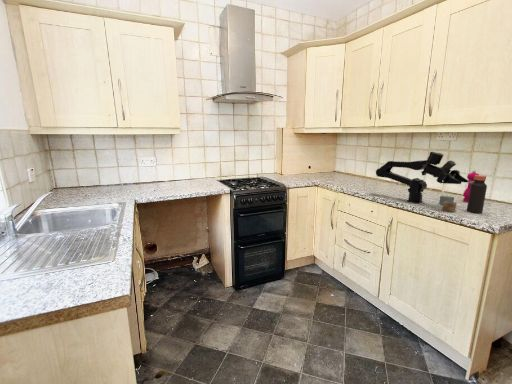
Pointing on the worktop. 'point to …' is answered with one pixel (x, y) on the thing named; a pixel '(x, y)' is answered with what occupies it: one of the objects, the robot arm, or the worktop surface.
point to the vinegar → (477, 194)
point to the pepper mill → (470, 181)
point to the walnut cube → (449, 206)
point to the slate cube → (445, 199)
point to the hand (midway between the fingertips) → (464, 182)
